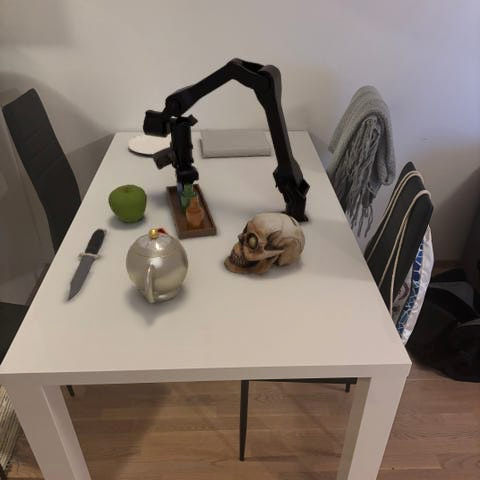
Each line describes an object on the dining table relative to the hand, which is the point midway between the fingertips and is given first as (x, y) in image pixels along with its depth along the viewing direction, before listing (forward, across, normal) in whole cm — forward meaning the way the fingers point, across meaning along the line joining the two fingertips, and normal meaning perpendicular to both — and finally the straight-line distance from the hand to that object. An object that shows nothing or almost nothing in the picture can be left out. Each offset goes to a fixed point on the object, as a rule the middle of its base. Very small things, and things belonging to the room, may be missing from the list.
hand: (185, 191), depth 144 cm
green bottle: (+2, +10, 0) cm, 10 cm away
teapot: (+3, +46, -13) cm, 48 cm away
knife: (+3, +29, -29) cm, 42 cm away
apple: (+3, +9, -17) cm, 20 cm away
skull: (+3, +38, +14) cm, 41 cm away
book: (+3, -37, +24) cm, 44 cm away
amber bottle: (+2, +19, 0) cm, 19 cm away
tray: (+3, +8, 0) cm, 9 cm away
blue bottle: (+2, 0, 0) cm, 2 cm away
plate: (+3, -44, -4) cm, 44 cm away
